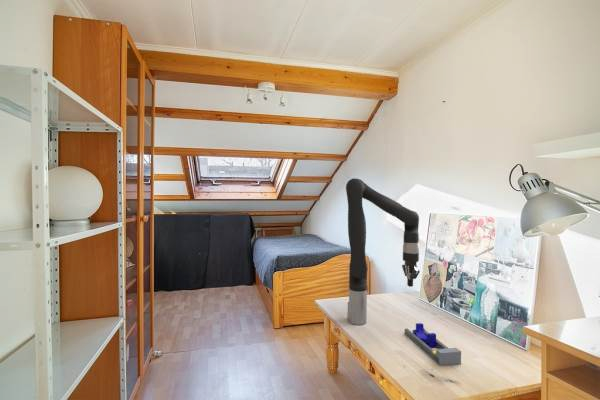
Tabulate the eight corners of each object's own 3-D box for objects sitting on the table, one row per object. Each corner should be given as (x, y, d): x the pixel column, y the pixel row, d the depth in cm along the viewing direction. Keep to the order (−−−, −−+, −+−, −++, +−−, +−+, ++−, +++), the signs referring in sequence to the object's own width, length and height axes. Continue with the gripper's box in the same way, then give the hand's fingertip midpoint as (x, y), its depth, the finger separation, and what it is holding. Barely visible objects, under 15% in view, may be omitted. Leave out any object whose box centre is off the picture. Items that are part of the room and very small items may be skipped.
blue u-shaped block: (412, 336, 148) (412, 323, 148) (421, 335, 148) (421, 323, 148) (426, 348, 136) (426, 335, 136) (435, 347, 136) (436, 334, 136)
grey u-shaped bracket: (440, 365, 122) (440, 353, 122) (404, 333, 149) (404, 323, 149) (461, 363, 123) (461, 351, 123) (421, 332, 151) (421, 322, 151)
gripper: (397, 249, 159) (396, 282, 159) (410, 254, 146) (410, 290, 146) (410, 248, 160) (410, 282, 160) (425, 253, 147) (424, 290, 147)
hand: (410, 286), depth 153 cm, fingers closed
